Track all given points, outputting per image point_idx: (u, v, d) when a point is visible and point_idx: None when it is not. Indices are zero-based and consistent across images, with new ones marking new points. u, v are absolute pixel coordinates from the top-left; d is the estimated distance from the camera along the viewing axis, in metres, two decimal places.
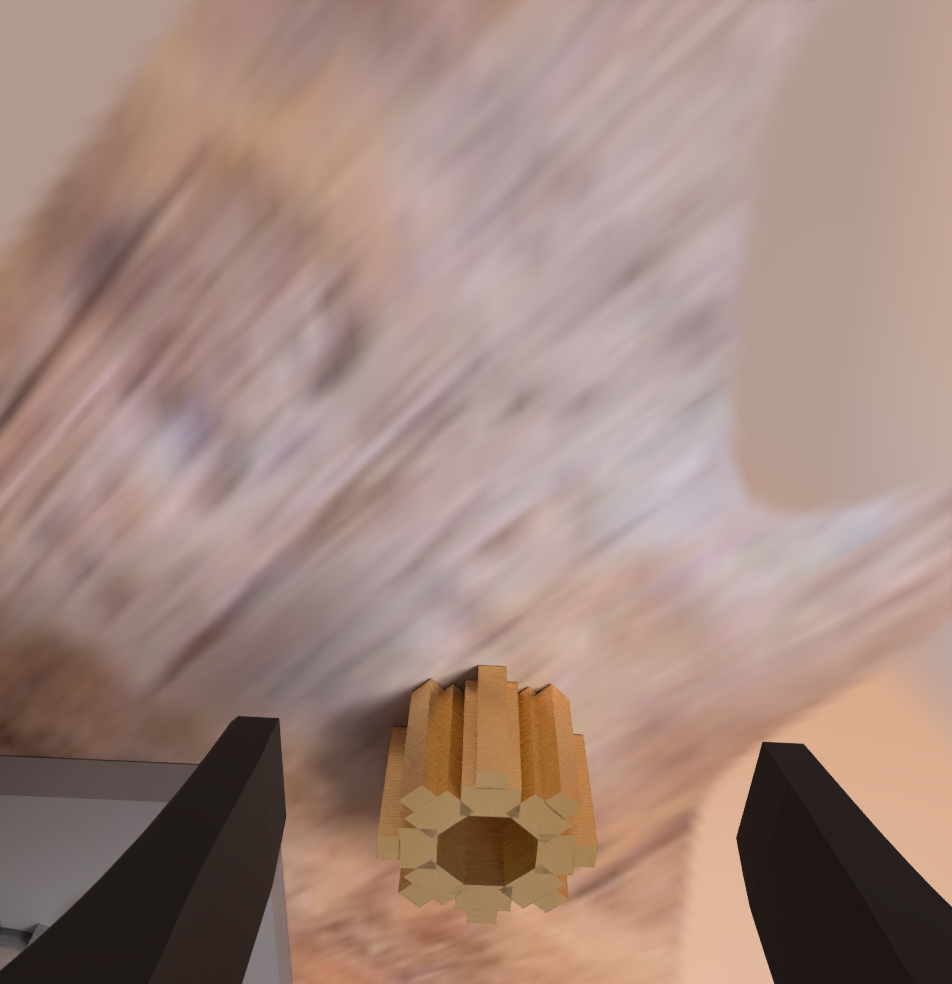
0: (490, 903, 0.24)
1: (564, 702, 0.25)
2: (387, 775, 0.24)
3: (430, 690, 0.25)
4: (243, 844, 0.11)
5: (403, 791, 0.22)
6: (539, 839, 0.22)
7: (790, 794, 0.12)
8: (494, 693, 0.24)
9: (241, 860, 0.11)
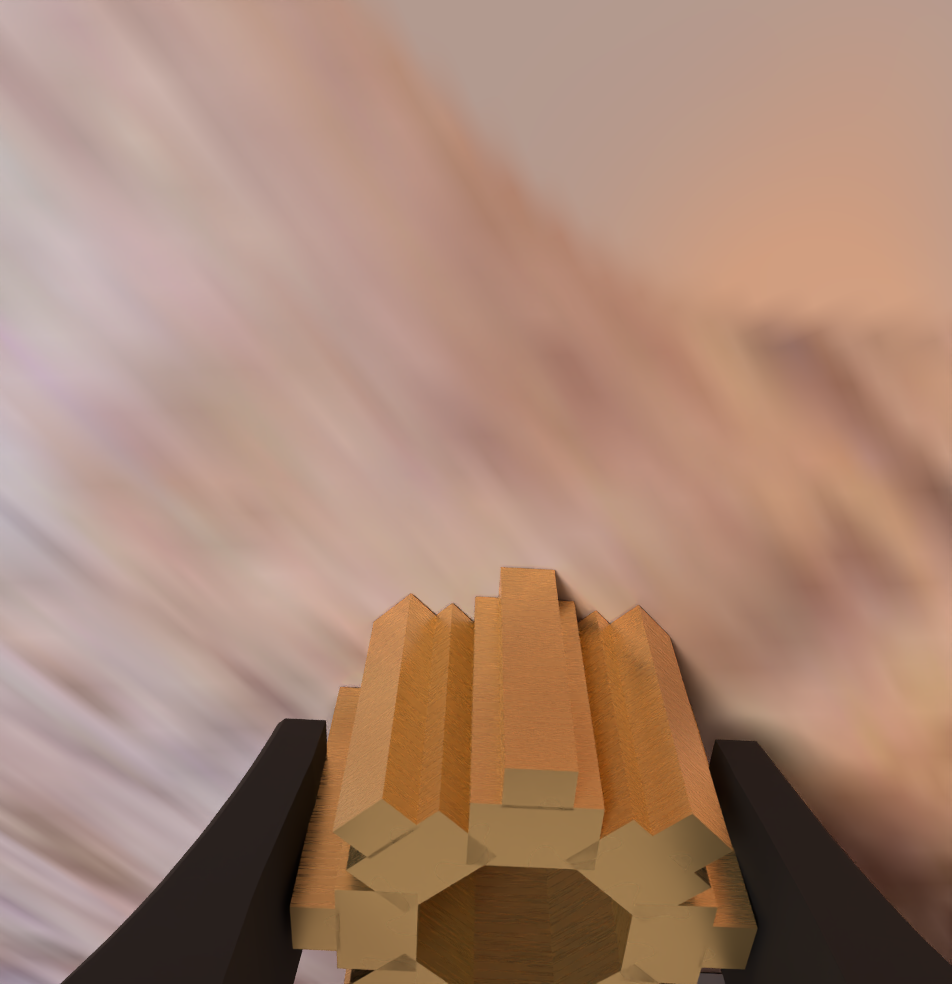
0: (685, 935, 0.11)
1: (397, 615, 0.13)
2: None
3: None
4: (296, 846, 0.11)
5: None
6: (482, 864, 0.10)
7: (739, 791, 0.12)
8: None
9: (294, 863, 0.11)
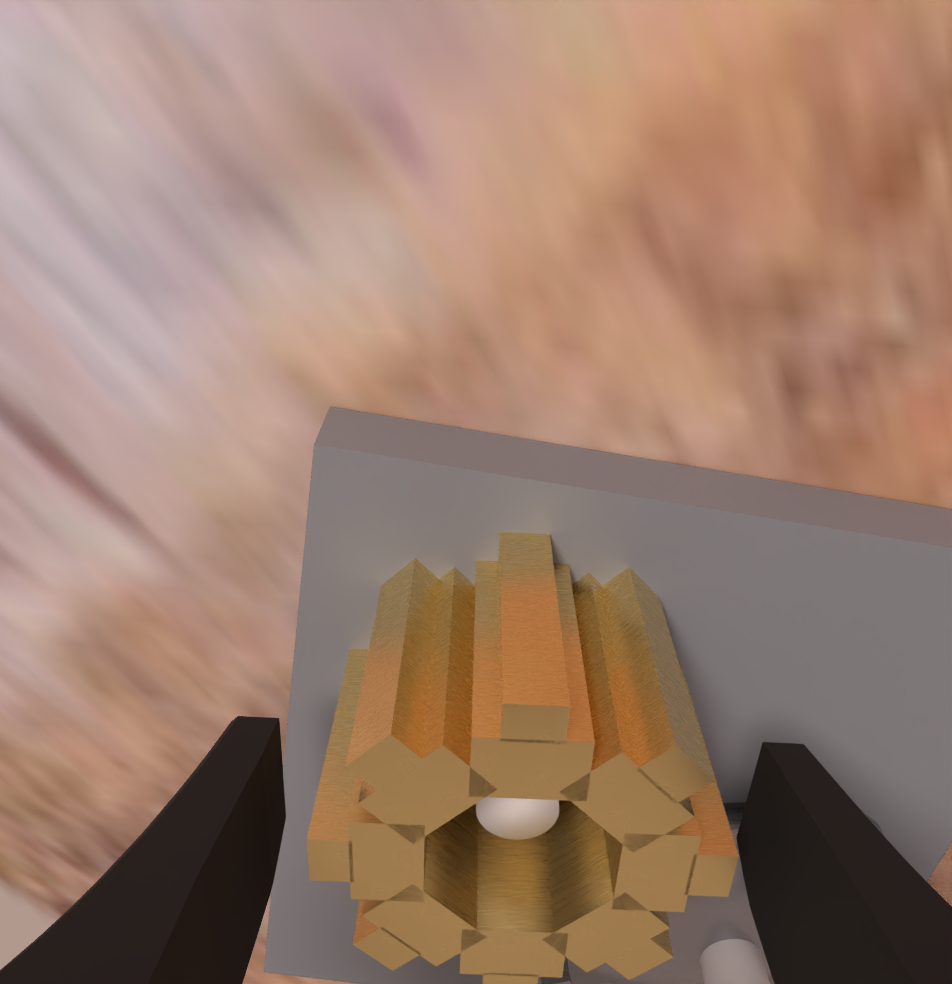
0: (672, 864, 0.12)
1: (403, 577, 0.14)
2: None
3: None
4: (243, 844, 0.11)
5: None
6: (483, 796, 0.11)
7: (790, 794, 0.12)
8: None
9: (241, 861, 0.11)
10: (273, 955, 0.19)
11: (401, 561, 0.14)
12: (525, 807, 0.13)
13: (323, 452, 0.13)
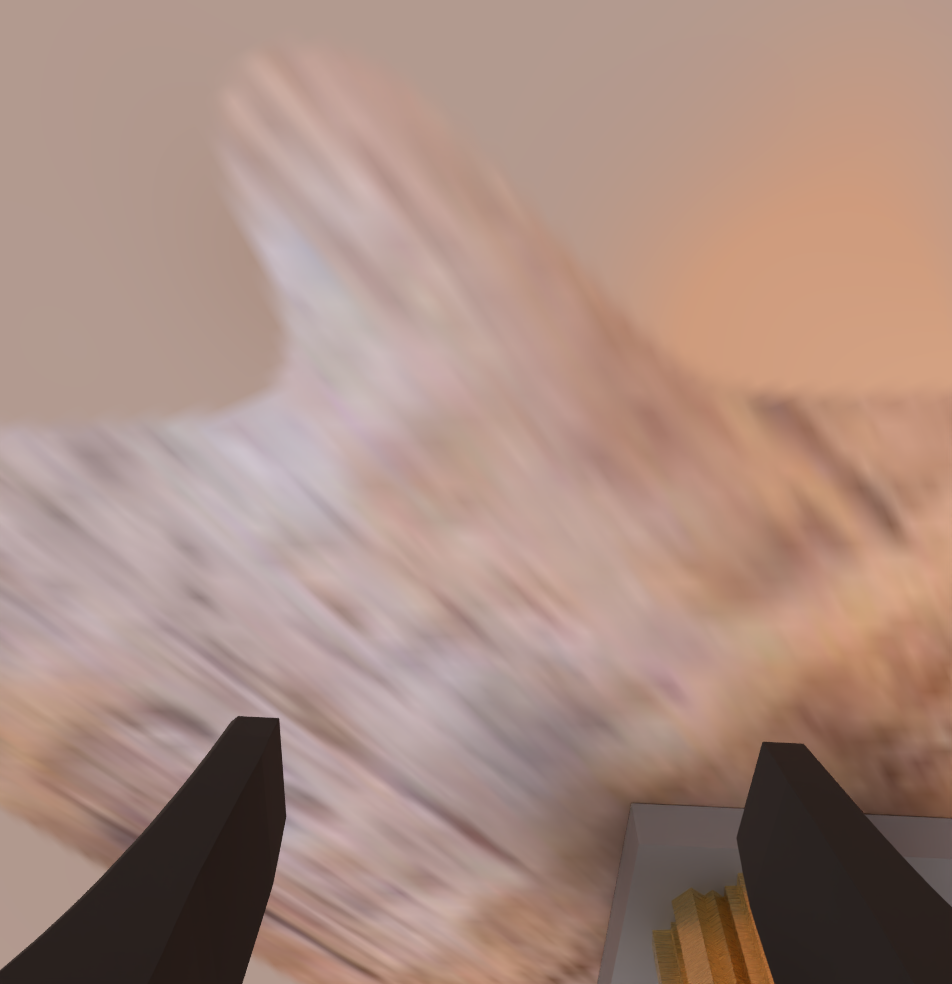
0: None
1: (687, 900, 0.26)
2: None
3: None
4: (243, 844, 0.11)
5: None
6: None
7: (790, 794, 0.12)
8: (658, 973, 0.26)
9: (241, 860, 0.11)
10: None
11: (683, 889, 0.26)
12: None
13: (643, 846, 0.25)
